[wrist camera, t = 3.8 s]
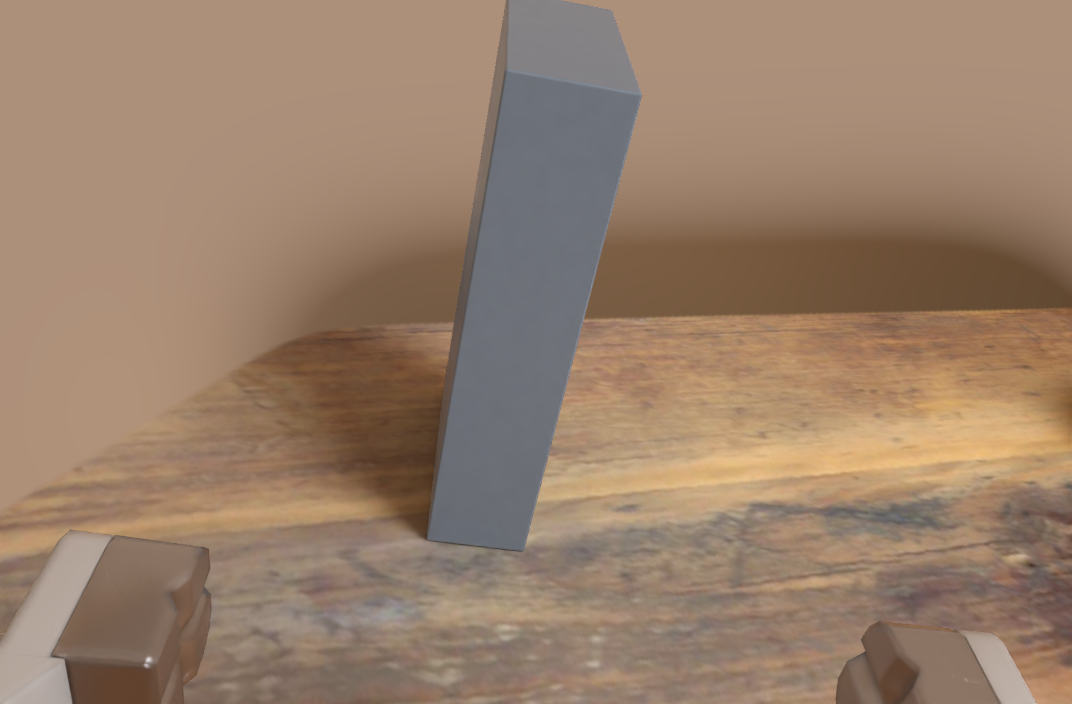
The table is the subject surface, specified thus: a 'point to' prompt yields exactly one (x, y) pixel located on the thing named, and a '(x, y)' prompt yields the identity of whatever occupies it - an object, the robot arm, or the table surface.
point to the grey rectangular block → (529, 262)
